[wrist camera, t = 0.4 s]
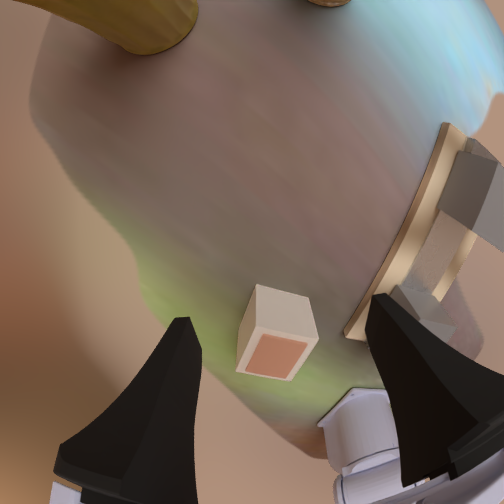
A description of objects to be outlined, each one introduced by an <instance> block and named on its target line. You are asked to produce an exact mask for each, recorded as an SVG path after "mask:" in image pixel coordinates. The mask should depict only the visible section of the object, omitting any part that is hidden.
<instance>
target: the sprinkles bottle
mask: <svg viewBox="0 0 504 504" xmlns="http://www.w3.org/2000/svg"><path fill="white" fill-rule="evenodd" d="M308 1H310V2H312V3H315V4H319V5H322V6H329V7H333V6H340V5H344V4H346V3H348V2H349V1H350V0H308Z"/></svg>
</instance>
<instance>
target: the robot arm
mask: <svg viewBox="0 0 504 504" xmlns="http://www.w3.org/2000/svg"><path fill="white" fill-rule="evenodd" d="M364 330H365V334H366V338H367V341H368V345H369V348H370V351H371V354H372V356H373V359H374V361H375V364H376V366H377V369H378V371H379V374H380V376H381V379H382V381H383V384H384V386H385V389H386V390H385V389H365V388H353V389H351V390H350V391H349V392H348V393H347V394H346V395H345V396H344V397H343V399H342V400H341V401H340V402H339V403H338V404H337V405H336V406H335V407H334V408H333V409H332V410H331V411H330V412H329V413H328V414H327V415H326V416H325V417H324V418H323V419H322V420H321V421H320V422H318V424H317V426H318V427H323V429H324V436H325V442H326V449H327V456H328V460H329V464H330V465H331V467H332V468H333V469H334V470H335V471H336V472H338V473H340V475H338V476H337V478H336V479H335V481H334V484H333V493H334V500H335V504H499V503H500V502H501V501H502V500H503V499H504V375H502V374H499V373H497V372H494V371H492V370H490V369H488V368H486V367H484V366H482V365H480V364H478V363H476V362H475V361H473V360H471V359H469V358H467V357H466V356H464V355H463V354H461V353H459V352H458V351H456V350H455V349H453V348H452V347H450V346H449V345H448V344H446V343H445V342H443V341H442V340H441V339H440V338H438V337H437V336H436V335H434V334H433V333H432V332H431V331H429V330H428V329H427V328H426V327H424V326H423V325H422V324H421V323H420V322H419V321H417V320H416V319H415V318H414V317H413V316H412V315H411V314H409V313H408V312H407V311H406V310H405V309H404V308H403V307H401V306H400V305H399V304H398V303H397V302H396V301H395V300H394V299H392V298H391V297H390V296H389V295H388V294H387V293H380V294H374V295H372V298H371V302H370V307H369V312H368V316H367V321H366V325H365V329H364ZM201 369H202V348H201V346H200V343H199V341H198V338H197V335H196V333H195V330H194V327H193V325H192V322H191V319H190V317H179V318H174V320H173V321H172V323H171V324H170V326H169V327H168V329H167V331H166V332H165V334H164V335H163V337H162V339H161V340H160V342H159V343H158V345H157V346H156V348H155V349H154V351H153V352H152V354H151V355H150V357H149V358H148V360H147V361H146V363H145V364H144V366H143V367H142V368H141V370H140V371H139V372H138V374H137V375H136V377H135V378H134V379H133V380H132V381H131V383H130V384H129V385H128V387H127V388H126V389H125V390H124V391H123V392H122V393H121V394H120V396H119V397H118V398H117V399H116V400H115V401H114V402H113V403H112V404H111V405H110V406H109V407H108V408H107V409H106V410H105V411H104V412H103V413H102V414H101V415H100V416H98V417H97V418H96V419H95V420H94V421H92V422H91V423H90V424H89V425H88V426H87V427H85V428H84V429H83V430H81V431H80V432H79V433H77V434H76V435H74V436H73V437H71V438H70V439H68V440H67V441H65V442H64V443H62V444H60V447H59V451H58V454H57V458H56V462H55V466H54V470H53V472H54V473H55V474H56V475H57V476H59V477H61V478H64V479H66V480H67V481H70V482H72V483H74V484H77V485H79V486H81V487H82V492H80V491H77V490H75V489H72V488H70V487H68V486H65V485H63V484H61V483H59V482H56V481H54V482H53V487H52V492H51V497H50V503H49V504H198V498H197V490H196V481H195V480H196V479H195V463H194V423H195V414H196V406H197V400H198V392H199V386H200V379H201ZM389 403H390V404H391V408H392V412H393V415H392V412H391V409H390V406H389ZM393 417H394V418H393ZM428 477H429V478H430V481H428V482H426V483H425V479H426V478H428Z"/></svg>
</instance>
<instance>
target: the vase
mask: <svg viewBox="0 0 504 504" xmlns="http://www.w3.org/2000/svg"><path fill="white" fill-rule="evenodd" d="M13 1H18V2H22V3H25V4H29V5H32V6H35V7H38V8H41V9H44V10H46V11H48V12H51V13H53V14H55V15H57V16H60V17H62V18H64V19H66V20H69V21H71V22H74V23H77V24H80V25H82V26H84V27H86V28H88V29H90V30H92V31H93V32H95V33H97V34H98V35H100V36H102V37H104V38H105V39H107V40H109V41H111V42H113V43H116V44H118V45H120V46H122V47H123V48H124V49H125V50H126V51H128V52H130V53H134V54H140V55H149V54H155V53H158V52H161V51H164V50H166V49H168V48H170V47H172V46H174V45H175V44H177V43H178V42H179V41H181V40H182V39H183V38H184V37H185V36H186V35H187V34H188V33H189V31H190V30H191V29H192V27H193V25H194V24H195V21H196V18H197V15H198V3H197V0H13Z"/></svg>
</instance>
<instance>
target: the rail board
mask: <svg viewBox="0 0 504 504" xmlns="http://www.w3.org/2000/svg"><path fill="white" fill-rule="evenodd" d="M477 235H479V236H480V237H482V238H483V239H485V240H486V241H487V242H489V243H490V244H492V245H493V246H495V247H496V248H497V249H499V250H500V251H502V252H504V167H503V166H502V165H501V163H500V162H499V161H498V160H497V159H496V158H495V157H494V156H493V155H492V154H491V153H490V152H489V151H488V150H487V149H486V148H485V147H484V146H482V145H481V144H480V143H479V142H478V141H477V140H476V139H472V138H469V137H468V136H466V135H465V134H463V133H462V132H461V131H460V130H458V129H457V128H456V127H455V126H453V125H452V124H451V123H446V122H443V123H442V126H441V129H440V132H439V136H438V139H437V142H436V144H435V147H434V150H433V153H432V156H431V159H430V161H429V164H428V167H427V169H426V172H425V174H424V177H423V179H422V182H421V184H420V187H419V189H418V191H417V194H416V196H415V198H414V201H413V203H412V205H411V208H410V210H409V212H408V214H407V216H406V219H405V221H404V223H403V225H402V227H401V229H400V231H399V233H398V235H397V237H396V239H395V241H394V243H393V245H392V247H391V249H390V251H389V253H388V255H387V257H386V259H385V261H384V263H383V264H382V266H381V268H380V270H379V272H378V274H377V275H376V277H375V279H374V281H373V282H372V284H371V286H370V288H369V289H368V291H367V293H366V294H365V296H364V298H363V299H362V301H361V303H360V304H359V306H358V308H357V309H356V311H355V313H354V314H353V316H352V317H351V319H350V320H349V322H348V324H347V325H346V327H345V328H344V330H343V331H344V334H345V337H346V338H351V339H356V340H362V341H364V342H365V344H366V347H367V349H370V348H369V345H368V341H367V338H366V334H365V330H364V329H365V325H366V321H367V316H368V312H369V307H370V302H371V298H372V295H374V294H380V293H387V294H388V295H389V296H390V297H391V298H392V299H394V300H395V301H396V302H397V303H398V304H399V305H400V306H401V307H403V308H404V309H405V310H406V311H407V312H408V313H409V314H411V315H412V316H413V317H414V318H415V319H416V320H417V321H419V322H420V323H421V324H422V325H423V326H424V327H426V328H427V329H428V330H429V331H431V332H432V333H433V334H434V335H436V336H437V337H438V338H440V339H441V340H442V341H443V342H445V343H447V341H448V340H449V339H450V337H451V336H452V335H453V333H454V332H455V331H456V329H457V328H458V326H457V325H456V324H455V322H454V321H453V320H452V318H451V317H450V316H449V314H448V313H447V312H446V310H445V309H444V308H443V306H442V305H441V304H440V301H441V300H442V298H443V297H444V295H445V294H446V292H447V290H448V289H449V287H450V285H451V284H452V282H453V280H454V279H455V277H456V275H457V274H458V272H459V270H460V268H461V266H462V265H463V263H464V261H465V259H466V257H467V255H468V253H469V251H470V250H471V248H472V246H473V244H474V242H475V239H476V237H477Z"/></svg>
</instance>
